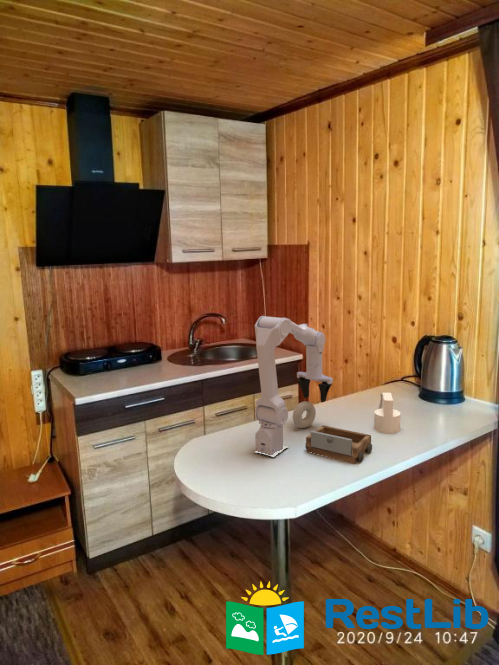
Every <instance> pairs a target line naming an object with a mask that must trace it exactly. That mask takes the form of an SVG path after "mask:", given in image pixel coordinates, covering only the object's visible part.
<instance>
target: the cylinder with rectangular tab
mask: <svg viewBox="0 0 499 665" xmlns="http://www.w3.org/2000/svg"><path fill="white" fill-rule="evenodd" d="M381 393H382V409H378V408H377V409H375V410H374V412H373V414H374V415H373V416H374V417H373V419H374V421H373V425H374V427H373V428H374V430H375V431H377V432H378V433H382V434H395V433H398V432H400V431H401V411H399V410H397V409H394V399H393V396H392V392H381Z"/></svg>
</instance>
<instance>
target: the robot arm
mask: <svg viewBox="0 0 499 665" xmlns="http://www.w3.org/2000/svg"><path fill="white" fill-rule="evenodd" d="M254 332H255V341H256V344H255V345H256V346H255V347H256V357H257V365H258V373H259V374H258V376H259V382H260V383H259V384H260V392H261V396H260V397H258V398H257V400H256V401H255V410H254V415H255V419H256V420H257V421H258V424H260V426H259V429H258V430H257V431H256V433H255V436H254V437H255V440H254V441H255V450H256V451H258V452H261V453H265V454H268V455H273V454H274V453H275V452H277V451H280V450H282V449H283V445H284V425H285V424H286V423H287V421H288V419H289V411H288V409H287V406H286V402H285V400H284V399H283V397H281V396H280V395H279V389H278V388H279V387H278V385H279V384H278V376H277V367H276V356H275V348H276V347H278V346H280V345H281V344H282V342H283V341H284V340H285V339H286V338H287V337H288V335H289V334H291V335H293V337H294V339H295V340H296V341H297V342H298V341H299V342H300V343H302V344H303V346H305V356H306V358H305V359H306V360H305V362H306V366H305V367H306V371H305V372H304V371H298V372H296V378H298V379H297V383H298V385H299V387H300V389H301V392H302V395H303V399H307V398H309V396H310V384H311V381H315V382H318V386H317V387H318V388H319V392H320V393H319V394H320V402H321V403H324V402H326V400H327V397H328V393H329V390H330V389H331V387H332V385H333V382H334V379H333V377H330V376H327V375H325V374H323V352H324V350H325V348H324V347H325V344H326V336H325V333H323V332H322V331H318V330H315V328H314V327H309V324H308V323H302V324H297V323H295V322H293V321H292V320H291V319H290V318H287V317H275V316H265V315H261V316H259V317H258V319H257V320H256V322H255V324H254ZM319 382H320V383H319Z"/></svg>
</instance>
